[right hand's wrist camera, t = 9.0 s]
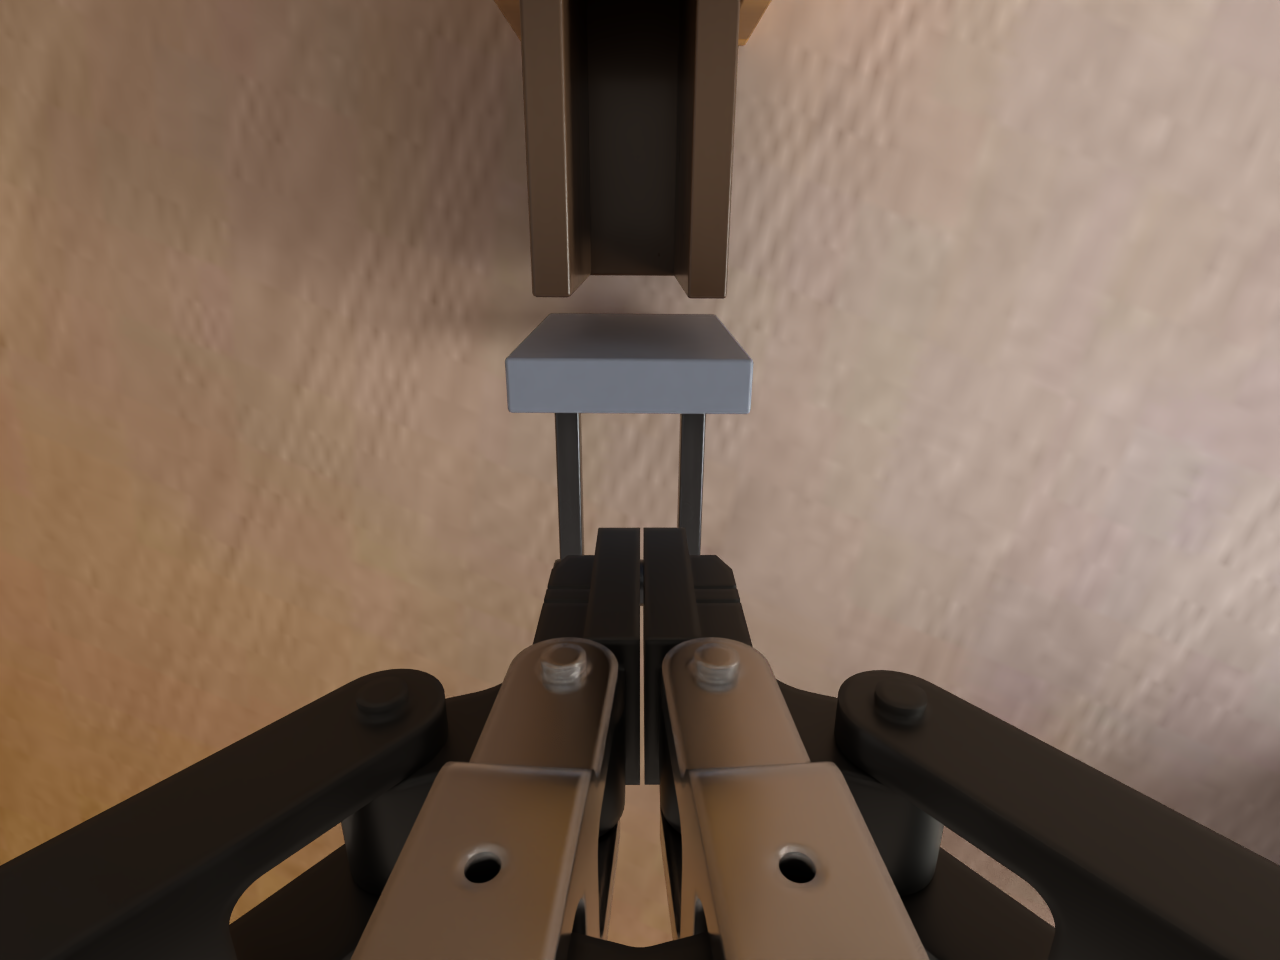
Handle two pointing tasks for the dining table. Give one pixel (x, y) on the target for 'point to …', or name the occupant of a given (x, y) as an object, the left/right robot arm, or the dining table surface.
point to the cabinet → (751, 12)
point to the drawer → (629, 224)
